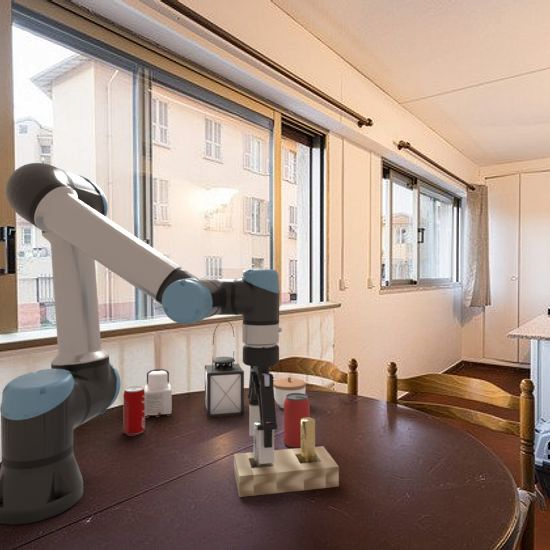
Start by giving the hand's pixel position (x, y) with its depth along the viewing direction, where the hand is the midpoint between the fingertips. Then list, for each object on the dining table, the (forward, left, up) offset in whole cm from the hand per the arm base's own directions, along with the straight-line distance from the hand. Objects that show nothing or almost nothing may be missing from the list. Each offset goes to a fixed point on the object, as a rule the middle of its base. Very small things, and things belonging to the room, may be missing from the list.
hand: (260, 447), depth 85 cm
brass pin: (+10, 0, -7) cm, 12 cm away
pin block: (+5, 0, -7) cm, 9 cm away
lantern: (-4, +46, -7) cm, 47 cm away
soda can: (-29, +33, -7) cm, 45 cm away
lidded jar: (+17, +46, -7) cm, 50 cm away
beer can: (+12, +17, -7) cm, 22 cm away
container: (-24, +48, -7) cm, 54 cm away
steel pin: (0, 0, -7) cm, 7 cm away
